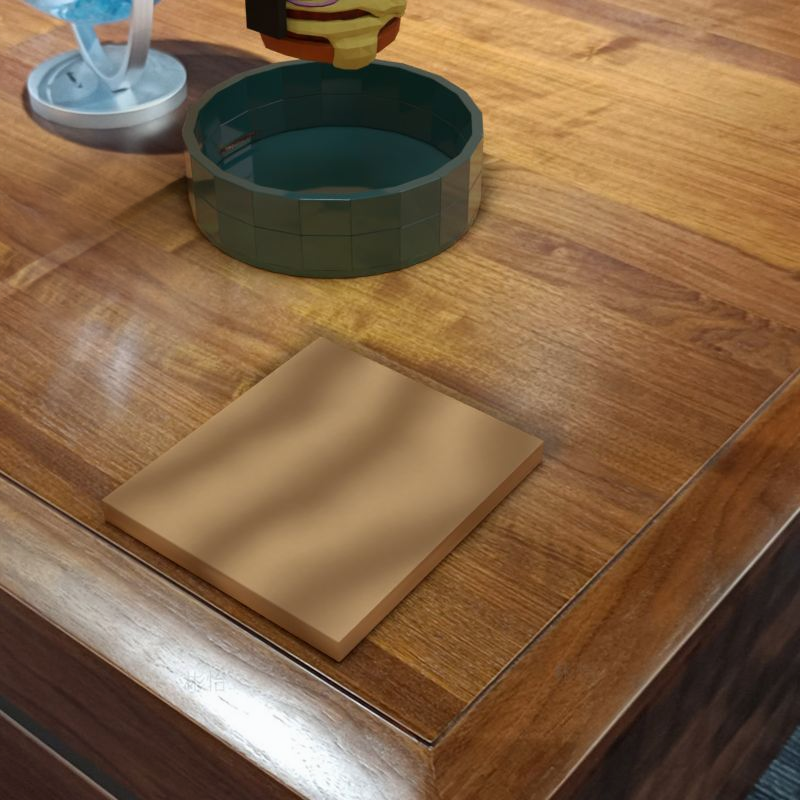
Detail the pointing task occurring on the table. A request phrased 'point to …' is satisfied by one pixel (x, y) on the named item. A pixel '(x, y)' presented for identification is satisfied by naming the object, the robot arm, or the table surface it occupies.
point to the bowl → (334, 167)
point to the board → (325, 492)
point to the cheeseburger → (338, 30)
